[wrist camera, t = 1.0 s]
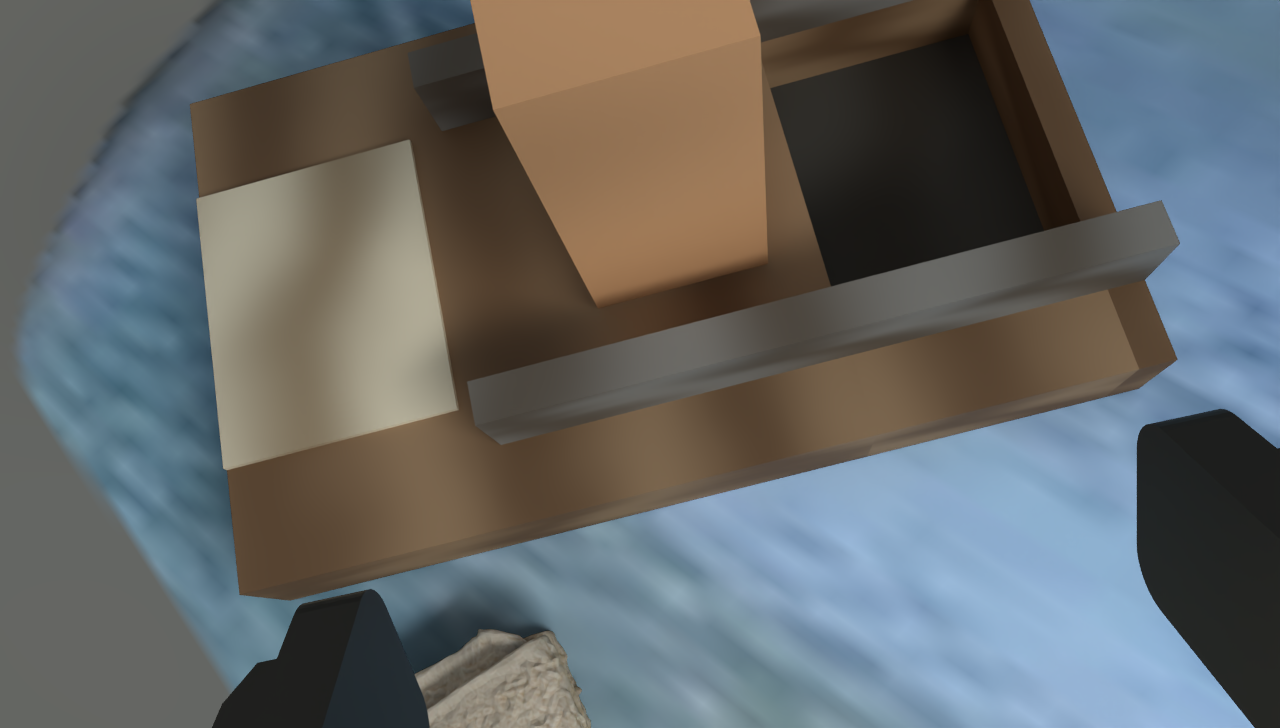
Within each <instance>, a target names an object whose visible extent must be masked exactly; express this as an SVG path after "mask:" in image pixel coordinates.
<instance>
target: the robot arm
mask: <svg viewBox="0 0 1280 728" xmlns="http://www.w3.org/2000/svg"><path fill="white" fill-rule="evenodd" d="M1137 553H1138V559H1139V564H1140V568H1141V571H1142V575H1143V578H1144V580H1145V583H1146V585H1147V588H1148V590H1149V592H1150V594H1151V596H1152V598H1153V600H1154V601H1155V603H1156V604H1157V606H1158V607H1159V609H1160V610H1161V611H1162V613H1163V614H1164V615H1165V616H1166V618H1167V619H1168V620H1169V621H1170V623H1171V624H1172V625H1173V626H1174V628H1175V629H1176V630H1177V631H1178V633H1179V634H1180V635H1181V636H1182V638H1183V639H1184V640H1185V641H1186V643H1187V644H1188V645H1189V646H1190V648H1191V649H1192V650H1193V651H1194V653H1195V654H1196V655H1197V656H1198V658H1199V659H1200V660H1201V661H1202V663H1203V664H1204V665H1205V666H1206V667H1207V669H1208V670H1209V671H1210V672H1211V674H1212V675H1213V676H1214V677H1215V679H1216V680H1217V681H1218V682H1219V684H1220V685H1221V686H1222V687H1223V689H1224V690H1225V691H1226V692H1227V694H1228V695H1229V696H1230V697H1231V699H1232V700H1233V701H1234V702H1235V704H1236V705H1237V706H1238V707H1239V709H1240V710H1241V711H1242V712H1243V714H1244V715H1245V716H1246V717H1247V719H1248V720H1249V721H1250V722H1251V724H1252V725H1253V726H1254V727H1255V728H1280V448H1278V449H1277V448H1276V447H1274V446H1273V445H1272V444H1271V443H1270V442H1268V441H1267V440H1266V439H1265V438H1263V437H1262V436H1261V435H1260V434H1258V433H1257V432H1256V431H1255V430H1253V429H1252V428H1251V427H1250V426H1248V425H1247V424H1246V423H1245V422H1244V421H1242V420H1241V419H1240V418H1239V417H1237V416H1236V415H1235V414H1233V413H1232V412H1230V411H1228V410H1225V409H1218V410H1213V411H1208V412H1204V413H1199V414H1194V415H1190V416H1185V417H1180V418H1176V419H1171V420H1166V421H1162V422H1157V423H1152V424H1148V425H1145V426H1144V427H1143V428H1142V429H1141V431H1140V433H1139V435H1138V441H1137ZM212 728H430V725H429V718H428V712H427V708H426V703H425V700H424V697H423V694H422V691H421V689H420V687H419V684H418V682H417V679H416V677H415V675H414V672H413V670H412V668H411V665H410V663H409V660H408V658H407V656H406V653H405V651H404V648H403V646H402V644H401V641H400V639H399V637H398V634H397V632H396V629H395V627H394V625H393V622H392V620H391V618H390V615H389V613H388V610H387V608H386V606H385V604H384V602H383V600H382V598H381V597H380V595H379V594H378V593H377V592H376V591H375V590H372V589H369V590H364V591H360V592H355V593H350V594H346V595H341V596H336V597H332V598H327V599H323V600H318V601H313V602H309V603H304V604H302V605H300V606H299V607H298V608H297V610H296V612H295V614H294V616H293V619H292V621H291V624H290V626H289V629H288V632H287V634H286V637H285V639H284V642H283V644H282V647H281V650H280V652H279V655H278V657H277V659H274V660H269V661H264V662H260V663H257V664H256V665H255V667H254V668H253V669H252V670H251V671H250V672H249V673H248V675H247V676H246V677H245V678H244V679H243V680H242V682H241V683H240V684H239V685H238V686H237V687H236V689H235V690H234V691H233V692H232V693H231V694H230V696H229V697H228V698H227V699H226V700H225V701H224V703H223V704H222V706H221V708H220V710H219V713H218V715H217V717H216V720H215V722H214V724H213V727H212Z"/></svg>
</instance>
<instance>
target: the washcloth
mask: <svg viewBox="0 0 1280 728" xmlns="http://www.w3.org/2000/svg"><path fill="white" fill-rule="evenodd" d="M414 675H415V677H416V679H417V682H418V684H419V687H420V689H421V691H422V694H423V697H424V700H425V703H426V708H427V712H428V718H429V725H430V728H591V721H590V719H589V718H588V716H587V715H586V709H585V707H584V706H583V704H582V702H581V700H580V698H579V694H580V693H581V691H582V690H581V688H579V687H578V686H577V685H576V682H575V680H574V679H573V677H572V675H571V673H570V670H569V668H568V666H567V654H566V653H565V651H564V649H563V648H562V646H561V645H560V644H559V643H558V642H557V640H556V637H555V634H554V633H553V632H552V631H544V632H540V633H537V634H534V635H531V636H528V637H526V638H524V639H523V638H522V637H521V636H519V635H516V634H511V633H507V632H503V631H499V630H494V629H486V630H482V629H478V634H477V636H476V637H473V638H471V640H470V641H469V642H468V643H466V644H465V645H464V647H463V648H462V649H461V650H459V651H457V652H456V653H454V654H451V655H450V656H448V657H446V658H444V659H443V660H441V661H439V662H437V663H436V664H434V665H432V666H430V667H428V668H426V669H424V670H422V671H420V672H418V673H416V674H414Z"/></svg>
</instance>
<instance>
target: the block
mask: <svg viewBox="0 0 1280 728" xmlns="http://www.w3.org/2000/svg"><path fill="white" fill-rule="evenodd" d="M470 1H471V6H472V11H473V15H474V20H475V25H476V30H477V35H478V39H479V44H480V49H481V54H482V59H483V64H484V68H485V73H486V78H487V83H488V88H489V92H490V97H491V102H492V107H493V111H494V113H495V114H496V116H497V118H498V120H499V122H500V124H501V126H502V128H503V130H504V131H505V133H506V135H507V137H508V139H509V141H510V143H511V145H512V147H513V149H514V150H515V152H516V154H517V156H518V158H519V160H520V162H521V164H522V166H523V167H524V169H525V171H526V173H527V175H528V177H529V179H530V181H531V183H532V185H533V186H534V188H535V190H536V192H537V194H538V196H539V198H540V200H541V202H542V203H543V205H544V207H545V209H546V211H547V213H548V215H549V217H550V219H551V220H552V222H553V224H554V226H555V228H556V230H557V232H558V234H559V236H560V238H561V239H562V241H563V243H564V245H565V247H566V249H567V251H568V253H569V255H570V256H571V258H572V260H573V262H574V264H575V266H576V268H577V270H578V272H579V274H580V275H581V277H582V279H583V281H584V283H585V285H586V287H587V289H588V291H589V292H590V294H591V296H592V298H593V300H594V302H595V304H596V306H597V308H602V307H606V306H610V305H614V304H617V303H621V302H625V301H629V300H633V299H636V298H640V297H644V296H648V295H652V294H655V293H659V292H663V291H667V290H671V289H674V288H678V287H682V286H686V285H690V284H693V283H697V282H701V281H705V280H708V279H712V278H716V277H720V276H724V275H727V274H731V273H735V272H739V271H743V270H746V269H750V268H754V267H758V266H762V265H765V264H768V246H767V216H766V186H765V156H764V125H763V95H762V65H761V35H760V32H759V29H758V26H757V23H756V19H755V16H754V13H753V10H752V6H751V3H750V0H470Z"/></svg>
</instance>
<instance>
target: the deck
mask: <svg viewBox="0 0 1280 728" xmlns="http://www.w3.org/2000/svg"><path fill="white" fill-rule="evenodd" d="M750 3H751V6H752V10H753V13H754V16H755V19H756V23H757V26H758V29H759V32H760V35H761V65H762V95H763V125H764V156H765V186H766V216H767V246H768V264H765V265H762V266H758V267H754V268H750V269H746V270H743V271H739V272H735V273H731V274H727V275H724V276H720V277H716V278H712V279H708V280H705V281H701V282H697V283H693V284H690V285H686V286H682V287H678V288H674V289H671V290H667V291H663V292H659V293H655V294H652V295H648V296H644V297H640V298H636V299H633V300H629V301H625V302H621V303H617V304H614V305H610V306H606V307H602V308H597V306H596V304H595V302H594V300H593V298H592V296H591V294H590V292H589V291H588V289H587V287H586V285H585V283H584V281H583V279H582V277H581V275H580V274H579V272H578V270H577V268H576V266H575V264H574V262H573V260H572V258H571V256H570V255H569V253H568V251H567V249H566V247H565V245H564V243H563V241H562V239H561V238H560V236H559V234H558V232H557V230H556V228H555V226H554V224H553V222H552V220H551V219H550V217H549V215H548V213H547V211H546V209H545V207H544V205H543V203H542V202H541V200H540V198H539V196H538V194H537V192H536V190H535V188H534V186H533V185H532V183H531V181H530V179H529V177H528V175H527V173H526V171H525V169H524V167H523V166H522V164H521V162H520V160H519V158H518V156H517V154H516V152H515V150H514V149H513V147H512V145H511V143H510V141H509V139H508V137H507V135H506V133H505V131H504V130H503V128H502V126H501V124H500V122H499V120H498V118H497V116H496V114H495V113H494V111H493V107H492V102H491V97H490V92H489V88H488V83H487V78H486V73H485V68H484V64H483V59H482V54H481V49H480V44H479V39H478V35H477V30H476V25H475V23H473V24H470V25H466V26H463V27H459V28H456V29H452V30H449V31H445V32H442V33H438V34H435V35H431V36H428V37H424V38H421V39H417V40H414V41H410V42H407V43H403V44H400V45H396V46H392V47H389V48H385V49H382V50H378V51H375V52H371V53H368V54H364V55H361V56H357V57H354V58H350V59H347V60H343V61H340V62H336V63H333V64H329V65H326V66H322V67H319V68H315V69H312V70H308V71H305V72H301V73H298V74H294V75H291V76H287V77H284V78H280V79H277V80H273V81H269V82H266V83H262V84H259V85H255V86H252V87H248V88H245V89H241V90H238V91H234V92H231V93H227V94H224V95H220V96H217V97H213V98H210V99H206V100H203V101H199V102H196V103H192V104H190V110H191V120H192V130H193V140H194V150H195V159H196V169H197V179H198V189H199V198H197V199H196V201H197V211H198V221H199V231H200V241H201V251H202V261H203V271H204V281H205V291H206V301H207V311H208V321H209V331H210V341H211V351H212V361H213V371H214V381H215V391H216V401H217V411H218V421H219V431H220V441H221V451H222V460H223V469H225V470H227V475H228V485H229V495H230V504H231V514H232V524H233V534H234V544H235V554H236V564H237V573H238V583H239V593H240V595H246V596H255V597H264V598H273V599H282V600H294V599H298V598H302V597H306V596H310V595H314V594H318V593H322V592H326V591H330V590H334V589H338V588H342V587H346V586H350V585H354V584H358V583H362V582H366V581H370V580H374V579H378V578H382V577H386V576H390V575H394V574H398V573H402V572H406V571H410V570H414V569H418V568H422V567H426V566H430V565H434V564H438V563H442V562H446V561H450V560H454V559H458V558H462V557H466V556H470V555H474V554H478V553H482V552H486V551H490V550H494V549H498V548H502V547H506V546H510V545H514V544H518V543H522V542H526V541H530V540H534V539H538V538H542V537H546V536H550V535H554V534H558V533H562V532H566V531H570V530H574V529H578V528H582V527H586V526H590V525H594V524H598V523H602V522H606V521H610V520H614V519H618V518H622V517H626V516H630V515H634V514H638V513H642V512H646V511H650V510H654V509H658V508H662V507H666V506H670V505H674V504H678V503H682V502H686V501H690V500H694V499H698V498H703V497H707V496H711V495H715V494H719V493H723V492H727V491H731V490H735V489H739V488H743V487H747V486H751V485H755V484H759V483H763V482H767V481H771V480H775V479H779V478H783V477H787V476H791V475H795V474H799V473H803V472H807V471H811V470H815V469H819V468H823V467H827V466H831V465H835V464H839V463H843V462H847V461H851V460H855V459H859V458H863V457H867V456H871V455H875V454H879V453H883V452H887V451H891V450H895V449H899V448H903V447H907V446H911V445H915V444H919V443H923V442H927V441H931V440H935V439H939V438H943V437H947V436H951V435H955V434H959V433H963V432H967V431H971V430H975V429H979V428H983V427H987V426H991V425H995V424H999V423H1003V422H1007V421H1011V420H1015V419H1019V418H1023V417H1027V416H1031V415H1035V414H1039V413H1043V412H1047V411H1051V410H1055V409H1059V408H1063V407H1067V406H1071V405H1075V404H1079V403H1083V402H1087V401H1091V400H1095V399H1099V398H1103V397H1107V396H1111V395H1115V394H1119V393H1123V392H1127V391H1131V390H1135V389H1139V388H1140V387H1141V386H1143V385H1144V384H1145V383H1147V382H1148V381H1149V380H1151V379H1152V378H1153V377H1155V376H1156V375H1158V374H1159V373H1160V372H1162V371H1163V370H1164V369H1166V368H1167V367H1168V366H1170V365H1171V364H1172V363H1174V362H1175V361H1176V360H1178V359H1177V357H1176V355H1175V352H1174V350H1173V347H1172V345H1171V342H1170V340H1169V338H1168V335H1167V333H1166V330H1165V328H1164V326H1163V323H1162V321H1161V318H1160V316H1159V313H1158V311H1157V309H1156V306H1155V304H1154V301H1153V299H1152V296H1151V294H1150V292H1149V289H1148V287H1147V284H1146V282H1145V279H1146V278H1147V277H1148V276H1149V275H1150V274H1151V273H1152V272H1153V271H1154V270H1155V269H1156V268H1157V267H1158V266H1159V265H1160V264H1161V263H1162V262H1163V261H1164V260H1165V259H1166V258H1167V256H1168V255H1169V254H1170V253H1171V252H1172V251H1173V250H1174V249H1175V248H1176V247H1177V246H1178V245H1179V244H1180V242H1179V240H1178V237H1177V235H1176V233H1175V230H1174V228H1173V226H1172V224H1171V221H1170V219H1169V217H1168V214H1167V212H1166V210H1165V207H1164V205H1163V203H1162V200H1161V201H1157V202H1153V203H1149V204H1145V205H1142V206H1138V207H1134V208H1130V209H1126V210H1122V211H1119V212H1116V209H1115V207H1114V204H1113V202H1112V199H1111V197H1110V195H1109V192H1108V190H1107V187H1106V185H1105V182H1104V180H1103V178H1102V175H1101V173H1100V170H1099V168H1098V165H1097V163H1096V161H1095V158H1094V156H1093V153H1092V151H1091V148H1090V146H1089V144H1088V141H1087V139H1086V136H1085V134H1084V131H1083V129H1082V127H1081V124H1080V122H1079V119H1078V117H1077V114H1076V112H1075V110H1074V107H1073V105H1072V102H1071V100H1070V97H1069V95H1068V93H1067V90H1066V88H1065V85H1064V83H1063V81H1062V78H1061V76H1060V73H1059V71H1058V68H1057V66H1056V64H1055V61H1054V59H1053V56H1052V54H1051V51H1050V49H1049V47H1048V44H1047V42H1046V39H1045V37H1044V34H1043V32H1042V30H1041V27H1040V25H1039V22H1038V20H1037V17H1036V15H1035V13H1034V10H1033V8H1032V5H1031V3H1030V0H750Z"/></svg>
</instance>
